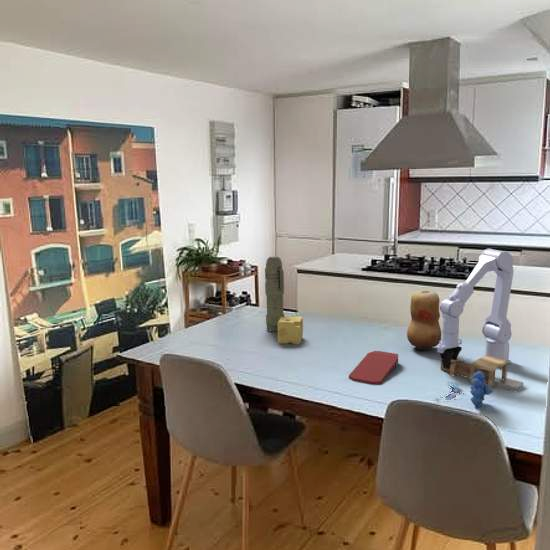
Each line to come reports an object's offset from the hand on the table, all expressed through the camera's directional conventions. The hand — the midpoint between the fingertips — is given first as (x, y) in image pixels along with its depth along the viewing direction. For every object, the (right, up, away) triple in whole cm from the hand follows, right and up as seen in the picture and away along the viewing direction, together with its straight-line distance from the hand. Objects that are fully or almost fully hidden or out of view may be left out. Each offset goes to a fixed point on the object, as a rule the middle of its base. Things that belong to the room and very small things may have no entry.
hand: (449, 366), depth 200 cm
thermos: (-65, +8, +59) cm, 88 cm away
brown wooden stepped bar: (+5, -2, -5) cm, 7 cm away
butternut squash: (-3, +3, +25) cm, 25 cm away
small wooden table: (+10, -3, -10) cm, 15 cm away
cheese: (-58, +4, +41) cm, 71 cm away
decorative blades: (-6, -6, -21) cm, 23 cm away
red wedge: (-27, -3, +2) cm, 27 cm away
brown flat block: (+16, -5, -16) cm, 23 cm away
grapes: (0, -8, -31) cm, 32 cm away
